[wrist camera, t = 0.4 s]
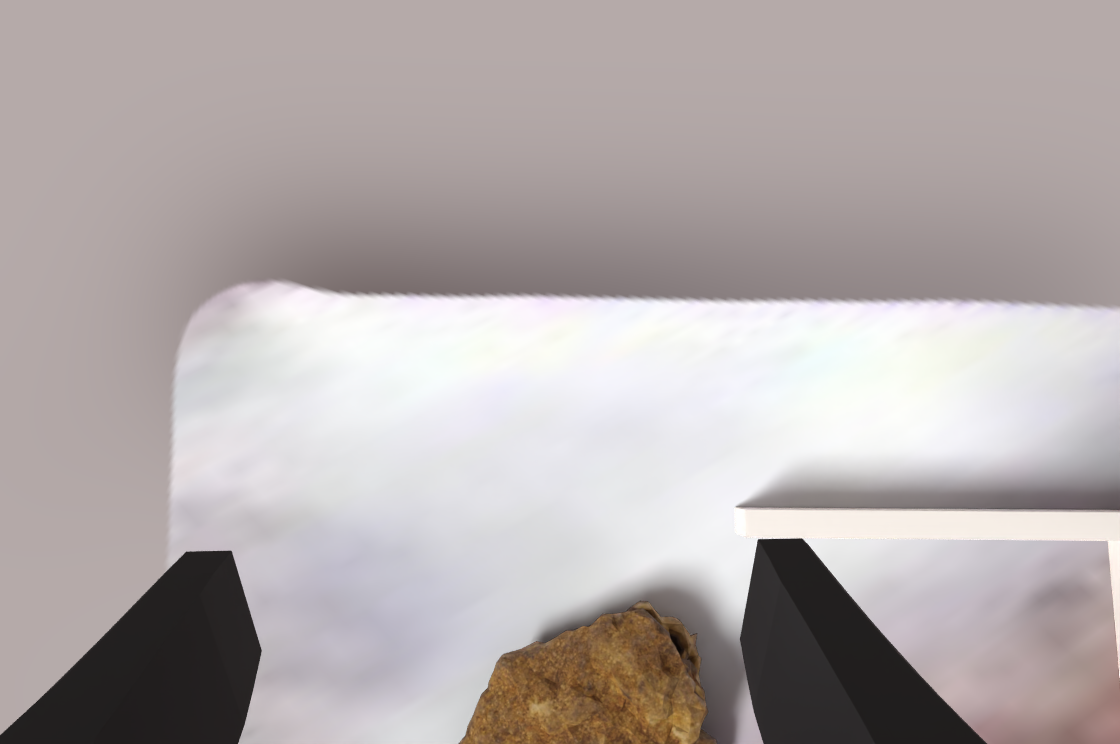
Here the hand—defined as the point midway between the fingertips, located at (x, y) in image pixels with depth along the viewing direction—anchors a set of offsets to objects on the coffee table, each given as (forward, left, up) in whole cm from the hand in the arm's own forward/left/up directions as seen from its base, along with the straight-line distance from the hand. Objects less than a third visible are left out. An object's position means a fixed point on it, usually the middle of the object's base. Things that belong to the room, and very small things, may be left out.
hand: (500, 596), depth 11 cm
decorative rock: (-11, 0, -28) cm, 30 cm away
